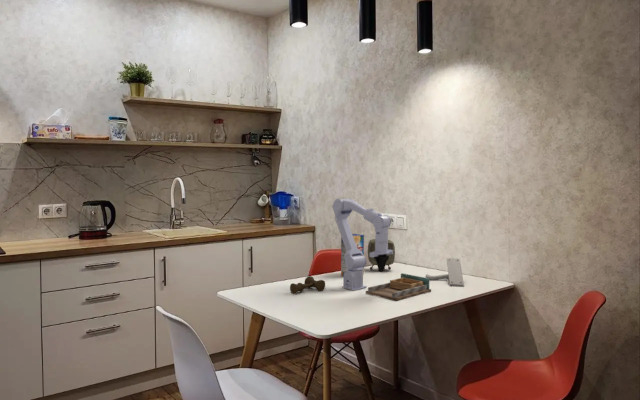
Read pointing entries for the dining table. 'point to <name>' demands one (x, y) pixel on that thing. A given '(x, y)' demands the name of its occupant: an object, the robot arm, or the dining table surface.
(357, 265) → the robot arm
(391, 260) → the tabletop clock
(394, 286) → the box
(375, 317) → the dining table surface
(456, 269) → the door handle
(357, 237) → the beverage box
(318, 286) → the brown knobbed bar
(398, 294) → the bay
